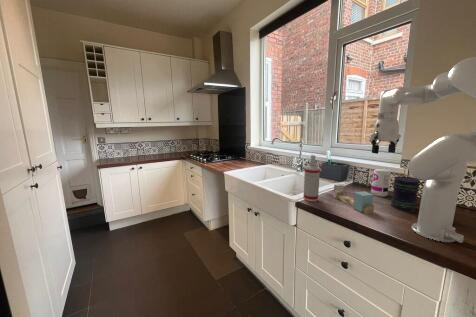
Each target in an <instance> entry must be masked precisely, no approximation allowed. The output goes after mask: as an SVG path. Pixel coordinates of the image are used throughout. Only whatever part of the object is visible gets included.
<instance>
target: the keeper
mask: <svg viewBox="0 0 476 317" xmlns="http://www.w3.org/2000/svg"><path fill="white" fill-rule="evenodd" d="M353 196H354V197H353V199H354V203H353V207H352V208H353V209H354V210H356V211H358V212H360V213H364V212H363V208H364V207H365V205H373V202H374V201H373V200H374V195H373V194H372V193H370V192H367V191H365V190H364V191H356V192H355V191H354V195H353Z"/></svg>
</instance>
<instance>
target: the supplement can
mask: <svg viewBox="0 0 476 317" xmlns="http://www.w3.org/2000/svg"><path fill="white" fill-rule="evenodd" d="M390 179H391V171H390V170H389V169H386V168H375V169H374V170H373V173H372V181H371V182H372V183H371V188H370V189H371V191H370V192H371V193H370V194H373V196H376V197H387V196H388V195H389V187H390V181H391V180H390Z"/></svg>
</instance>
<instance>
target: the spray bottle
mask: <svg viewBox="0 0 476 317" xmlns="http://www.w3.org/2000/svg"><path fill="white" fill-rule="evenodd" d="M320 172H321V167H319V166H318V165H317V161H316V155H314V154H310V160H309V164H308V165H306V166H304V178H303V179H304V180H303V182H304V183H303V197H302V198H303V200H305V201H308V202H318V200H319V193H320V192H319V189H320V175H321V173H320Z"/></svg>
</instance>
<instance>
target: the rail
mask: <svg viewBox="0 0 476 317" xmlns="http://www.w3.org/2000/svg"><path fill="white" fill-rule="evenodd" d="M333 186H334V187H333V195H332V196H333V199H337V200H339V201H341V202H343V203H345V204H346V205H348V206H351V207H352V208H353V203H354V198H352V197H350V196H347V195H346V194H344V184H342V183H341V184H340V183H339V184H338V183H336V184H334V185H333ZM374 211H375V205H374V204H372V205H365V207H364V208H363V212H362V213H364V214H365V215H371V214H374Z"/></svg>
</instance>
